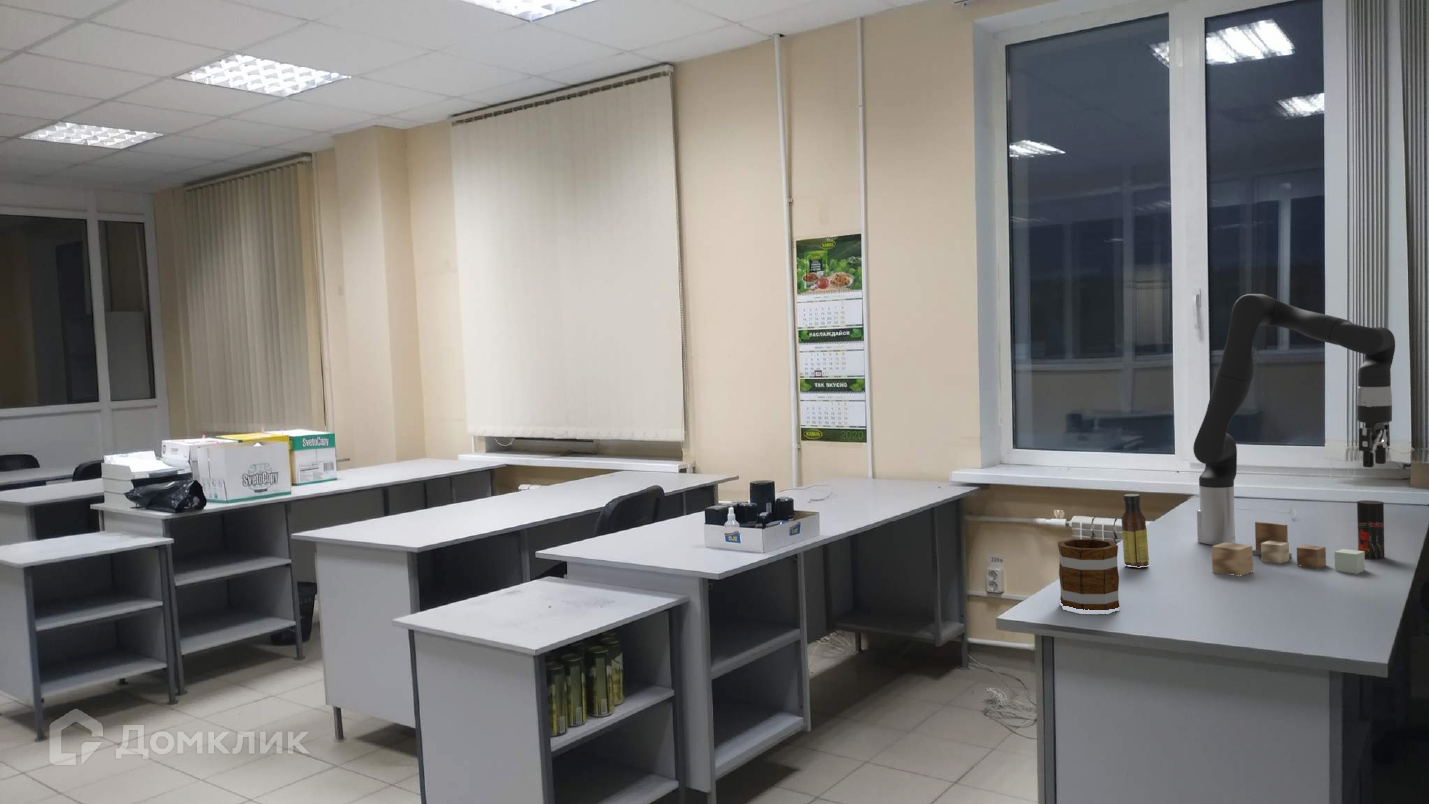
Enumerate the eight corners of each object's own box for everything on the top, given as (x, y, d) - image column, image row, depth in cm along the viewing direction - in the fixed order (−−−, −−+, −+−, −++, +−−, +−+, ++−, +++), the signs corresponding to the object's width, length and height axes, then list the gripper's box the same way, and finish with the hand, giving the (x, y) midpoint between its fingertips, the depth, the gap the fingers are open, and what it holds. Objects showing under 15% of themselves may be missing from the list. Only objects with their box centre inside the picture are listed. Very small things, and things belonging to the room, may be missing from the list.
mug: (1113, 618, 213) (1111, 551, 212) (1051, 611, 221) (1049, 547, 220) (1132, 597, 229) (1130, 536, 228) (1074, 592, 237) (1072, 532, 236)
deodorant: (1388, 559, 255) (1387, 503, 254) (1364, 559, 256) (1363, 504, 256) (1378, 554, 261) (1377, 500, 260) (1354, 554, 262) (1353, 500, 261)
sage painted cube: (1335, 571, 246) (1334, 551, 245) (1342, 567, 249) (1342, 548, 248) (1357, 573, 242) (1356, 554, 241) (1364, 570, 244) (1364, 551, 244)
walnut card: (1252, 554, 268) (1251, 522, 267) (1257, 553, 269) (1256, 520, 269) (1286, 559, 260) (1286, 525, 260) (1291, 557, 262) (1290, 524, 262)
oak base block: (1212, 572, 250) (1211, 546, 250) (1225, 568, 254) (1224, 542, 254) (1240, 576, 244) (1239, 549, 244) (1252, 572, 248) (1252, 545, 248)
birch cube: (1261, 561, 260) (1260, 543, 260) (1269, 558, 263) (1269, 540, 263) (1280, 563, 256) (1280, 545, 256) (1289, 560, 259) (1288, 542, 259)
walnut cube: (1297, 566, 253) (1296, 547, 253) (1305, 562, 256) (1304, 544, 256) (1317, 568, 249) (1317, 549, 249) (1325, 565, 252) (1325, 546, 252)
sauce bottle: (1149, 564, 262) (1147, 493, 261) (1148, 569, 256) (1146, 496, 255) (1123, 563, 264) (1121, 492, 263) (1122, 568, 259) (1120, 496, 258)
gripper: (1368, 401, 256) (1368, 461, 257) (1347, 405, 247) (1347, 467, 248) (1400, 402, 250) (1401, 463, 251) (1381, 405, 241) (1381, 469, 242)
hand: (1374, 465), depth 249 cm, fingers open, 8 cm apart
